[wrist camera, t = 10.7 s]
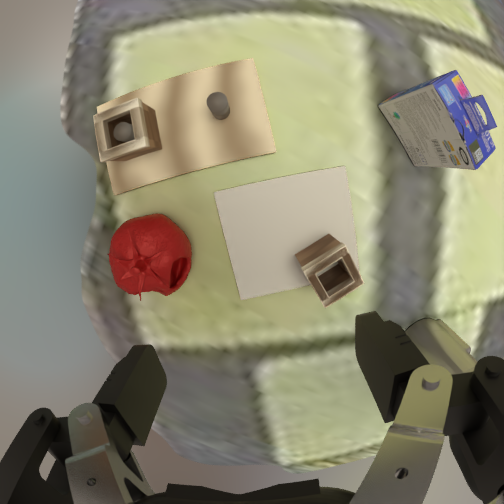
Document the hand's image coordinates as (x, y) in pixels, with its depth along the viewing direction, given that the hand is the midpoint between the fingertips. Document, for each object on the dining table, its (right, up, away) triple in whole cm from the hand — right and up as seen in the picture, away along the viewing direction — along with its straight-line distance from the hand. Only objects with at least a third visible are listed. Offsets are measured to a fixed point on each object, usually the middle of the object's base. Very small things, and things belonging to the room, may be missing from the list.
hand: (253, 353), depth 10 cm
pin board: (-8, +19, +20) cm, 28 cm away
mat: (+5, +6, +24) cm, 25 cm away
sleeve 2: (+9, +3, +24) cm, 26 cm away
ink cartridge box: (+21, +20, +20) cm, 36 cm away
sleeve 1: (-13, +17, +19) cm, 29 cm away
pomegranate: (-12, +4, +24) cm, 27 cm away
